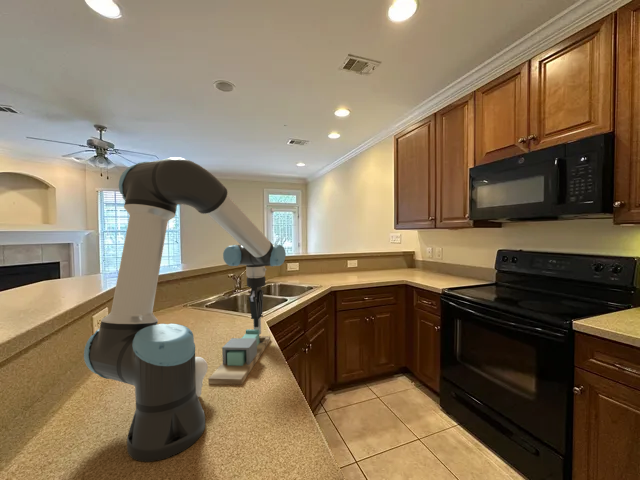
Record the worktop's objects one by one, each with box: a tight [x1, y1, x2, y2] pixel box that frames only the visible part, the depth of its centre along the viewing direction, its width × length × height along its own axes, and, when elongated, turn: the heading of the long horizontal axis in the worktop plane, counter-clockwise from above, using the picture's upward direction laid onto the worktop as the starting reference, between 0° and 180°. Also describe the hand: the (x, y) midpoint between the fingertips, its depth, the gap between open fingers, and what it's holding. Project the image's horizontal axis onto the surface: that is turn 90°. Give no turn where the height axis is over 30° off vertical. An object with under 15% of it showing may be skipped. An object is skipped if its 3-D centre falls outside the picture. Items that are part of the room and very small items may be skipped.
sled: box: [227, 328, 260, 366], centre depth 101 cm, size 19×5×5 cm, turn 176°
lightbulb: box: [195, 356, 209, 398], centre depth 77 cm, size 6×6×11 cm
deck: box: [208, 335, 272, 386], centre depth 100 cm, size 34×10×2 cm, turn 176°
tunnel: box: [221, 337, 257, 365], centre depth 96 cm, size 8×9×6 cm
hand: (257, 333), depth 116 cm, fingers closed
